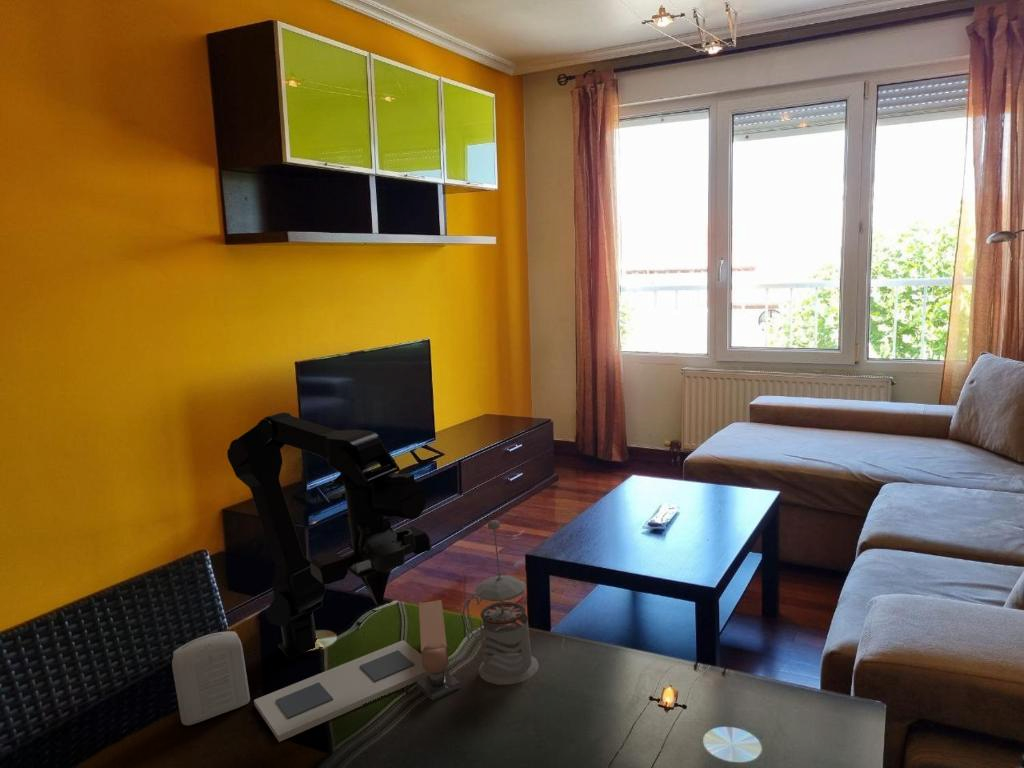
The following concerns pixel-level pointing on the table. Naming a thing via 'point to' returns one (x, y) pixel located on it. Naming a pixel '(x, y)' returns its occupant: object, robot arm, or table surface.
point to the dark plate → (438, 684)
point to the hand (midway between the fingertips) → (378, 603)
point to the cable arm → (433, 637)
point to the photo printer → (210, 676)
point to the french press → (503, 629)
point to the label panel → (340, 689)
